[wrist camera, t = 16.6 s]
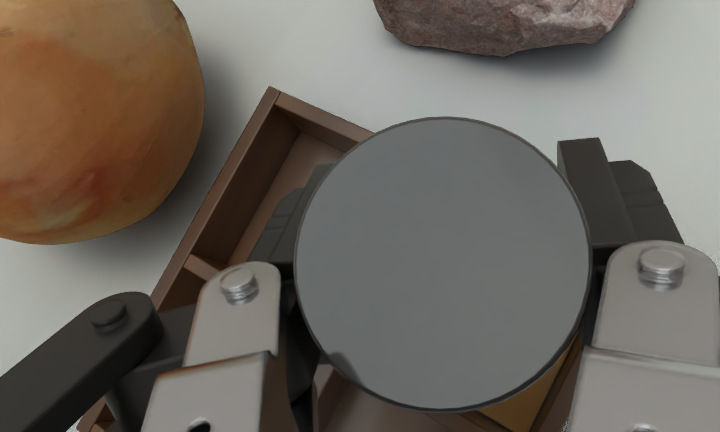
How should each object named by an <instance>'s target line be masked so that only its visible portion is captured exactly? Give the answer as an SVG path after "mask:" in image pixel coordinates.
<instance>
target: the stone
mask: <svg viewBox="0 0 720 432" xmlns="http://www.w3.org/2000/svg"><path fill="white" fill-rule="evenodd" d="M373 1H374V4H375V7H376V10H377V12H378V14H379V16H380V18H381V20H382V21H383V24H384V26H385V29H386V30H388V31H390V32H391V33H393V34H394V35H395V37H396V38H397V39H399V40H401V41H402V42H404V43H406V44H409V45H412V46H431V47H437V48H445V49H449V50H454V51H460V52H464V53H478V54H481V55H484V56H488V55H497V56H502V57H505V56H508V55H510V54H512V53H514V52H516V51H521V50H528V49H534V48H541V47H548V46H553V45H557V44H558V45H567V44H574V43H581V42H583V43H586V44H594V43H597V42H598V41H599V40H600V39H601V38H602V37H603V36H604V35H605V34H606V33H607V32H609V31H610V30H611V29H613V28H614V27H615V26H616V25H617V24H618V23H619V21H621V20H622V19H623V18H624V17H625V15H626V13H627V11H628V10H629V9H631V8H633V5H634V0H373Z"/></svg>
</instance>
